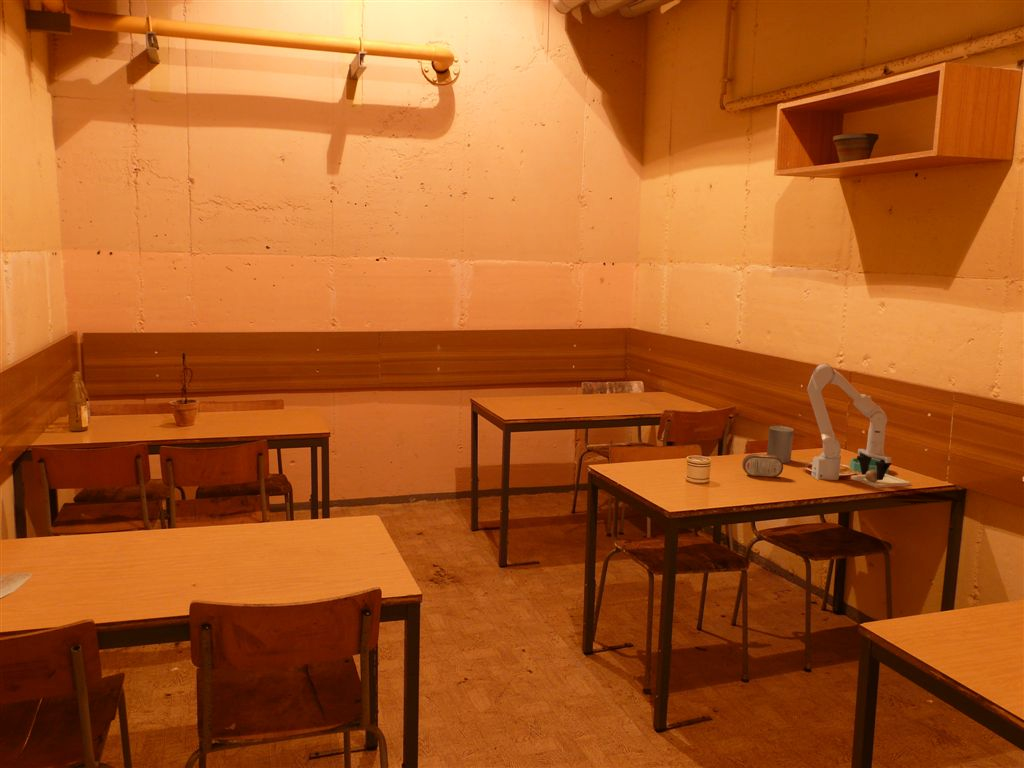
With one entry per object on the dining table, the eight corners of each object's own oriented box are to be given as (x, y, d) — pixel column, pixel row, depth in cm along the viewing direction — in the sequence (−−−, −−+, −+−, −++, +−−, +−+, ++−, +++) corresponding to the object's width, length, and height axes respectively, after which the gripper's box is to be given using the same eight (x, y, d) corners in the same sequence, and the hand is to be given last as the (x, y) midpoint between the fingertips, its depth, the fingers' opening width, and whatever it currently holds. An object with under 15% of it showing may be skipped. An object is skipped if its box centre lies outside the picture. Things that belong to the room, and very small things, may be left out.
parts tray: (876, 489, 302) (877, 485, 301) (850, 480, 314) (851, 475, 313) (910, 487, 307) (910, 482, 307) (883, 477, 319) (884, 473, 319)
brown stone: (868, 483, 306) (869, 471, 306) (862, 480, 311) (863, 468, 310) (880, 484, 307) (882, 471, 306) (874, 480, 311) (875, 468, 311)
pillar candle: (762, 457, 345) (765, 422, 343) (783, 457, 347) (786, 422, 345) (773, 463, 336) (776, 428, 333) (795, 463, 338) (798, 427, 335)
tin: (781, 476, 316) (783, 455, 314) (783, 478, 313) (785, 457, 311) (741, 474, 317) (742, 452, 316) (742, 476, 314) (744, 454, 313)
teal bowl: (859, 476, 321) (860, 466, 320) (843, 466, 335) (844, 457, 334) (894, 476, 321) (895, 466, 321) (877, 467, 335) (878, 458, 335)
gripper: (899, 445, 301) (895, 481, 303) (869, 437, 315) (866, 471, 317) (884, 446, 299) (880, 482, 301) (855, 437, 312) (851, 472, 314)
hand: (872, 477), depth 309 cm, fingers open, 7 cm apart
